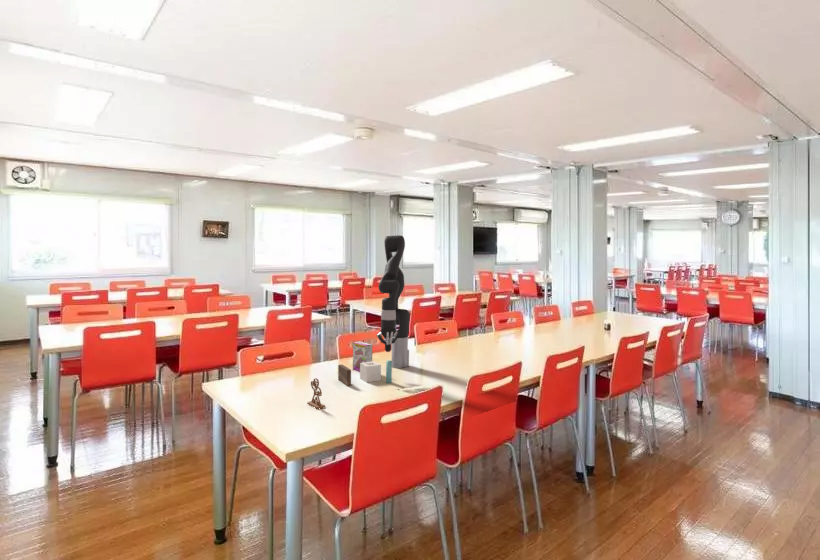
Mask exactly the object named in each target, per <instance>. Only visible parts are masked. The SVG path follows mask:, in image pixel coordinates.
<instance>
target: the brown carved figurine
mask: <svg viewBox="0 0 820 560" xmlns="http://www.w3.org/2000/svg"><path fill="white" fill-rule="evenodd" d="M319 386H320V380H319V378H313V380H311V381H310V387H311V389H312V390H313V395H312V397H311V398H312V399H311V401H307V402H306V405H307V404H309V405H311V406H313V407H315V408H317V409H318V410H320V409H319V408H322V409H324V408H323V407H325V408H326V405H325V404H323V403H321V399H320V397H322V396H323V394H322V393H323V392H322V389H321V387H319ZM309 405H308V406H309ZM311 406H310V407H311ZM313 407H312V408H313ZM315 408H314V409H315ZM317 409H316V410H317Z"/></svg>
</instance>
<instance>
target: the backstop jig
mask: <svg viewBox="0 0 820 560" xmlns="http://www.w3.org/2000/svg"><path fill="white" fill-rule="evenodd" d="M337 369H338V371H337V375H338V376H337V378H338V379H337V380H338V381H339V382H340V383H342V384H343V385H345V387H352V369H351V368H348V367H347V366H346V365H344V364H342V363H340V364H338V366H337Z"/></svg>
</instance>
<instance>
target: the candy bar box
mask: <svg viewBox="0 0 820 560" xmlns="http://www.w3.org/2000/svg"><path fill="white" fill-rule="evenodd" d="M364 362H373V344H371V343H368V342H367V343H366V342H363V341H360V340H359V341H354V342H352V371H356V372H359V373H360V363H364Z"/></svg>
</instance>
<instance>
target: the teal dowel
mask: <svg viewBox="0 0 820 560" xmlns="http://www.w3.org/2000/svg"><path fill="white" fill-rule="evenodd" d="M385 364H386V365H385V367H386V368H385V383H386V384H392V382H393V381H392V378H393V376H392V375H393V374H392V373H393V367H392V360H386V361H385Z"/></svg>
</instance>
